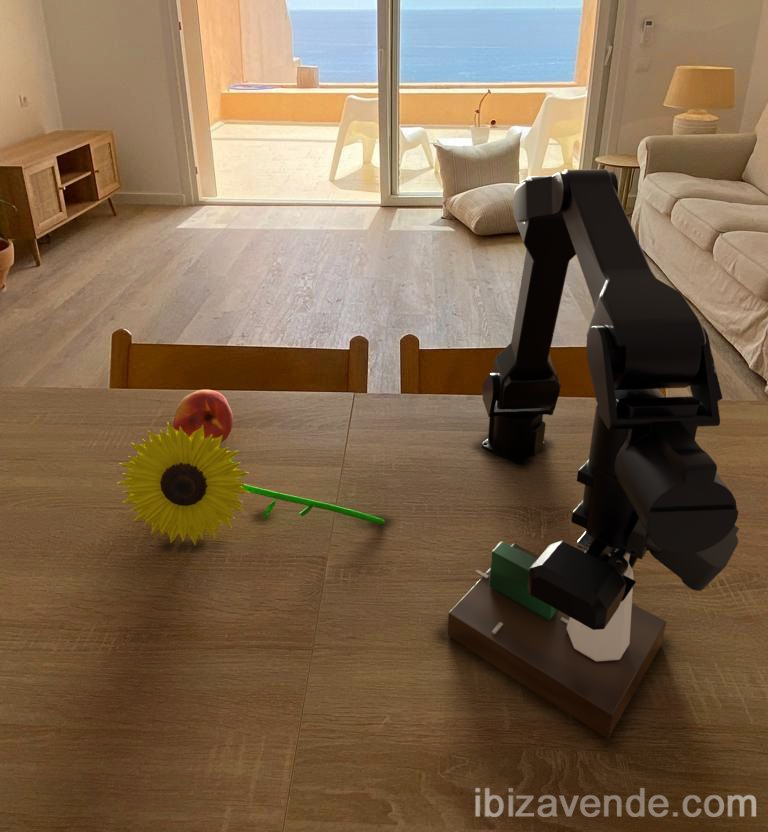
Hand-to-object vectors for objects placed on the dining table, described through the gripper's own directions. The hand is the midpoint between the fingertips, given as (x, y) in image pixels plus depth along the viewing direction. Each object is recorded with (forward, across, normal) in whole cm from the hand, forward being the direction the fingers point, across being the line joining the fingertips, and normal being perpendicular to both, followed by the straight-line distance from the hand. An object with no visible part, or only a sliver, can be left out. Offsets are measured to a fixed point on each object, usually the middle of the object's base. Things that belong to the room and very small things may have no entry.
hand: (602, 607), depth 60 cm
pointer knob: (+4, 0, +7) cm, 8 cm away
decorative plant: (+7, -8, +37) cm, 38 cm away
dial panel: (+7, 0, +4) cm, 8 cm away
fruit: (+7, -1, +56) cm, 56 cm away
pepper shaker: (+4, 0, 0) cm, 4 cm away
